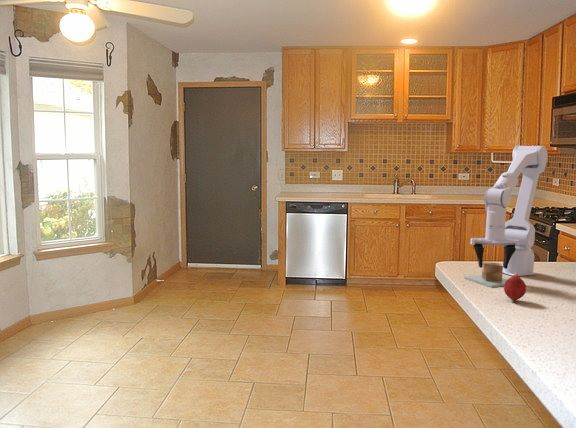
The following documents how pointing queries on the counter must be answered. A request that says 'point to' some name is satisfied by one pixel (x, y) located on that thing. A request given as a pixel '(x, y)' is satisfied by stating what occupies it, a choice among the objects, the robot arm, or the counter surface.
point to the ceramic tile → (487, 283)
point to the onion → (515, 287)
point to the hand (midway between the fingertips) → (492, 267)
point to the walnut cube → (492, 271)
